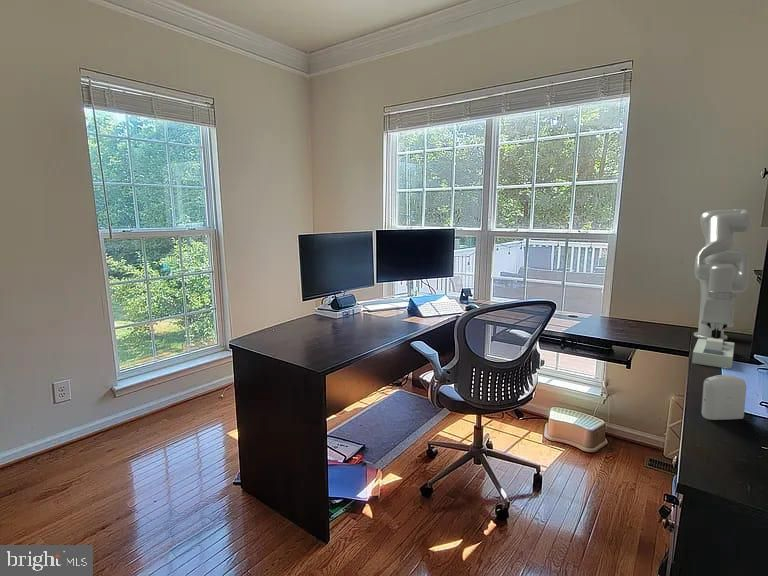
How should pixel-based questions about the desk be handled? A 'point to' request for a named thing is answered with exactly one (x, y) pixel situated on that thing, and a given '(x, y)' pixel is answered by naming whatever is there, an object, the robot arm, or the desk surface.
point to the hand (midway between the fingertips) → (715, 339)
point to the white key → (714, 342)
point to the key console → (713, 355)
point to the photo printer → (723, 397)
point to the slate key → (713, 350)
